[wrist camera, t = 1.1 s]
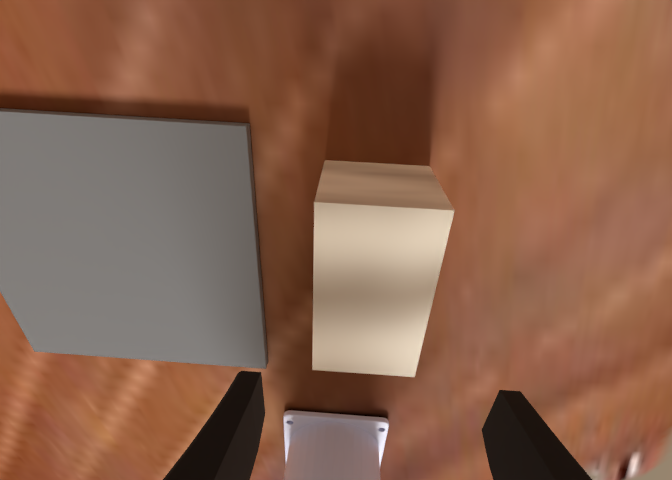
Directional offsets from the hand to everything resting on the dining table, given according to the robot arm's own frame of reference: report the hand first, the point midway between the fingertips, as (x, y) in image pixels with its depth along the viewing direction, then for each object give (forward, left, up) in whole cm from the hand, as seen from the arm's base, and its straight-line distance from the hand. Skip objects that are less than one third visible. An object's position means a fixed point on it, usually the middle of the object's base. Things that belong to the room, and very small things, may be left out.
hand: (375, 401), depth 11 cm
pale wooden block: (0, 0, -10) cm, 10 cm away
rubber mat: (-2, +14, -9) cm, 17 cm away
